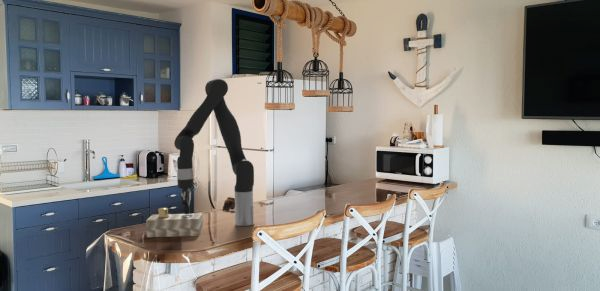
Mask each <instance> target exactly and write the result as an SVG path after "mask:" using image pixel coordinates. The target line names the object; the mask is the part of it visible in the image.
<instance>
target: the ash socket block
mask: <svg viewBox="0 0 600 291" xmlns="http://www.w3.org/2000/svg"><path fill="white" fill-rule="evenodd" d="M182 216H191V217H187V218H182ZM145 222H146V224H145V226H146V227H145V228H146V238H165V237H170V238H171V237H197V236H198V237H200V235H201V233H202V231H203V229H204V228H203V227H204V225H203V213H202V212H201V213H197V212H196V213H189V214H184V213H168V218H159V216H158V214H151V216H149V217H148V218H147V219H146V221H145Z"/></svg>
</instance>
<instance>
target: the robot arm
mask: <svg viewBox="0 0 600 291" xmlns="http://www.w3.org/2000/svg"><path fill="white" fill-rule="evenodd" d="M228 90H229V86H228V83H227V82H226V80H225V79H222V78H215V79H211V80H208V82H207V83H206V84H205V88H204V91H205V95H206V97H205V99H204V100H203V102H202V103H201V104H200V105H199V106H198V108H197V109H196V110H195V111H194V112H193V114H192V115H191V116H190V118H189V119H188V122H187V123H186V125H185V126H184V128H182V130H181V131H180V132H179V133H178V134H177V136H176V137H175V140H174V148H175V149H176V150H179V156H178V157H177V159H176V161H177V162H176V165H177V168H176V169H177V171H176V178H177V179H176V180H177V188H178V189H180V190H181V189H182V191H181V192H180V194H181V195H180V196H181V198H180V199H181V203H182V206H183V210H184V212H183V214H191V213H190V205H191V200H192V199H191V198H192V191H191V190H190V189H191V188H194V186H195V178H194V177H195V176H194V170H193V169H194V167H193V166H194V165H193V157H194V150H195V143H194V142H195V141H194V140H193V138H194V137H195V136H198V135H199V133H200V132H201V131H202V128H203V127H204V125H205V123H206V122H207V120H208V118H209V117H210V115H211V114H212V112H214V117H215V119H216V121H217V125H218V129H219V132H220V134H221V137H222V140H223V142H224V145H225V148H226V150H227V154H228V156H229V159H230V165H231V169H232V172H233V173H234V175H235V177H236V178H235V185H234V198H235V208H234V219H235V226H236V227H248V226H254V223H255V221H254V220H255V219H254V218H255V217H254V214H255V213H254V185H255V168H254V165H253V163H252V162H251V161H250V160H247V157H246V156H245V153H244V151H243V147H242V136H241V131H240V128H239V124H238V122H237V120H236V118H235V115H233V114H232V112H231V110H230V109H229V107H228V106H227V103H226V100H225V98H224V97H225V96H226V95H227V93H228V92H229V91H228Z"/></svg>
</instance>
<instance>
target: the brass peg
mask: <svg viewBox="0 0 600 291" xmlns="http://www.w3.org/2000/svg"><path fill="white" fill-rule="evenodd" d="M157 211H158V216H159V218H168V214H169V208H168V207H160V208H158V210H157Z"/></svg>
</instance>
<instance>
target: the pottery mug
mask: <svg viewBox="0 0 600 291" xmlns="http://www.w3.org/2000/svg"><path fill="white" fill-rule="evenodd" d="M230 209H231V210H235V197H232V196H230V197H227V198H226V199H225V200H224V202H223V206H222V211H228V212H230Z"/></svg>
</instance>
